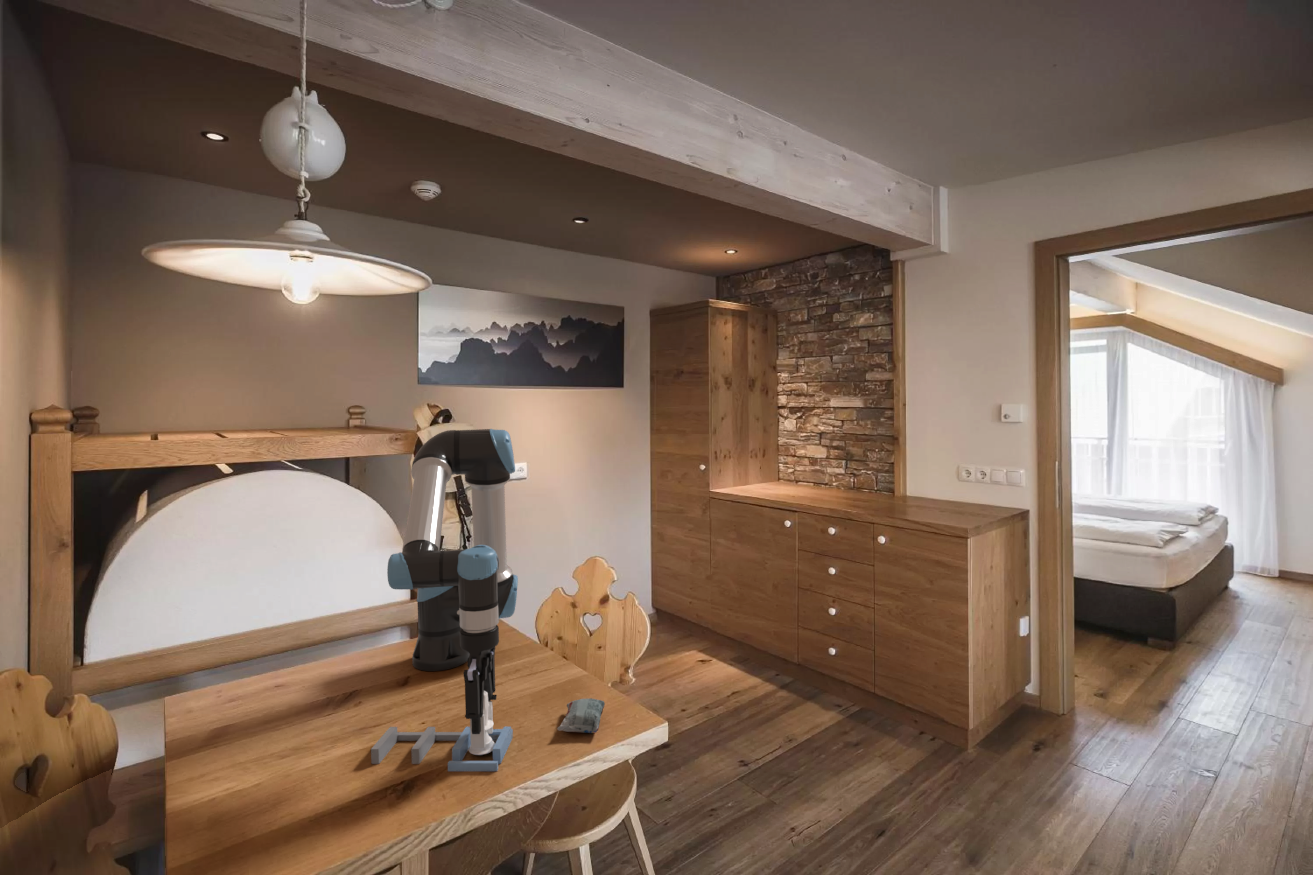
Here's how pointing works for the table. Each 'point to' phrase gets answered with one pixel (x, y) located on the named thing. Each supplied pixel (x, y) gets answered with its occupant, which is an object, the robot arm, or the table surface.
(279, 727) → the table surface
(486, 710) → the candle
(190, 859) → the table surface
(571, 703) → the packaged food
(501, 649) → the table surface
